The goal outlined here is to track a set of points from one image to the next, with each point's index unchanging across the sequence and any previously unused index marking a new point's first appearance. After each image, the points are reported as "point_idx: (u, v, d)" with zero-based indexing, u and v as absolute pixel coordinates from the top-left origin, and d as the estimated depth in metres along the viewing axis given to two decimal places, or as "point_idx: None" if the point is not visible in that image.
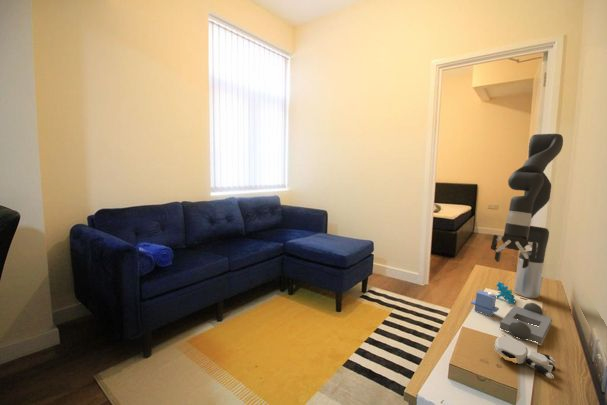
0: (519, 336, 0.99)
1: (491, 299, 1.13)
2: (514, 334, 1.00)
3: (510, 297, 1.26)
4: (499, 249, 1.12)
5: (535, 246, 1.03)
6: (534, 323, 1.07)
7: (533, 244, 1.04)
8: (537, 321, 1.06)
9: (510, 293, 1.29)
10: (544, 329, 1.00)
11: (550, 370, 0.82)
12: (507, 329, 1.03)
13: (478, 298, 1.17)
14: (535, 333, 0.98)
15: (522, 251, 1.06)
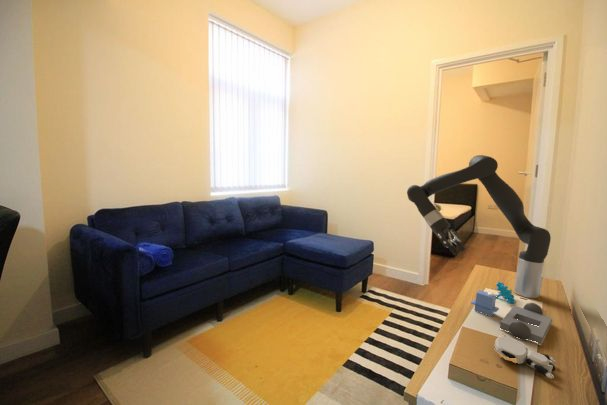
0: (519, 336, 0.99)
1: (491, 299, 1.13)
2: (514, 334, 1.00)
3: (510, 297, 1.26)
4: None
5: (438, 238, 1.23)
6: (534, 323, 1.07)
7: None
8: (537, 321, 1.06)
9: (510, 293, 1.29)
10: (544, 329, 1.00)
11: (550, 370, 0.82)
12: (507, 329, 1.03)
13: (478, 298, 1.17)
14: (535, 333, 0.98)
15: None
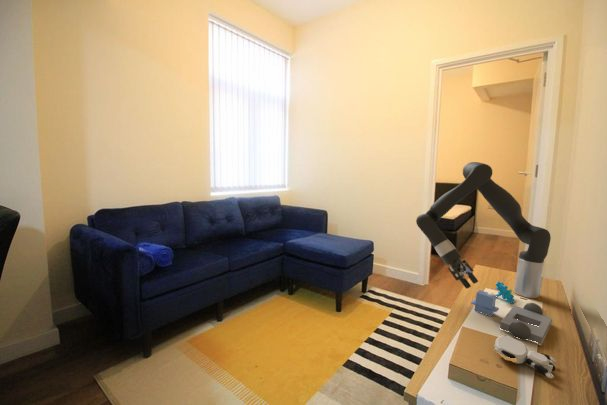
0: (519, 336, 0.99)
1: (491, 299, 1.13)
2: (514, 334, 1.00)
3: (509, 297, 1.27)
4: None
5: (450, 270, 1.20)
6: (534, 323, 1.07)
7: None
8: (537, 321, 1.06)
9: (509, 293, 1.29)
10: (544, 329, 1.00)
11: (550, 370, 0.82)
12: (507, 329, 1.03)
13: (478, 298, 1.17)
14: (535, 333, 0.98)
15: None
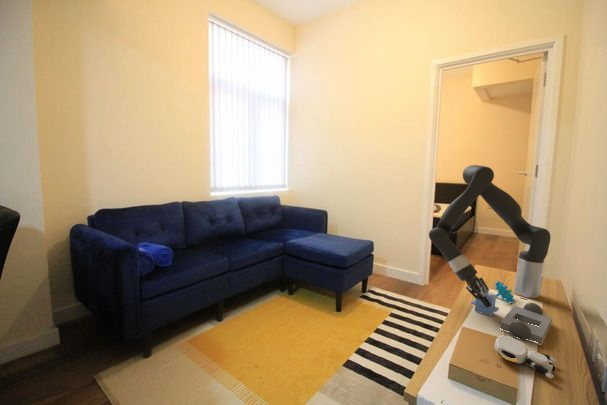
0: (519, 336, 0.99)
1: (491, 299, 1.13)
2: (514, 334, 1.00)
3: (508, 296, 1.27)
4: None
5: (468, 290, 1.15)
6: (534, 323, 1.07)
7: None
8: (537, 321, 1.06)
9: (509, 293, 1.29)
10: (544, 329, 1.00)
11: (550, 370, 0.82)
12: (507, 329, 1.03)
13: None
14: (535, 333, 0.98)
15: None
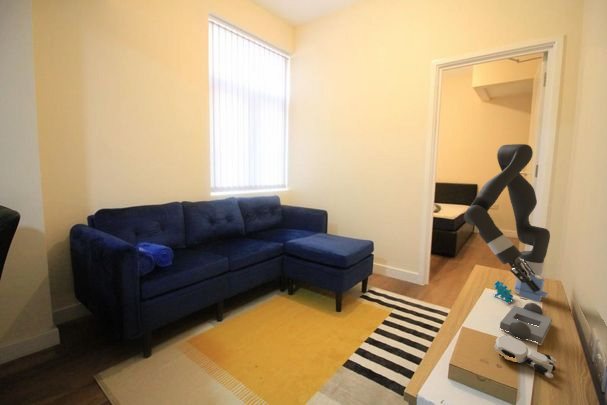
0: (519, 336, 0.99)
1: (540, 283, 1.01)
2: (514, 334, 1.00)
3: (508, 296, 1.27)
4: None
5: (513, 273, 1.04)
6: (534, 323, 1.07)
7: None
8: (537, 321, 1.06)
9: (508, 292, 1.29)
10: (544, 329, 1.00)
11: (550, 370, 0.82)
12: (507, 329, 1.03)
13: None
14: (535, 333, 0.98)
15: None
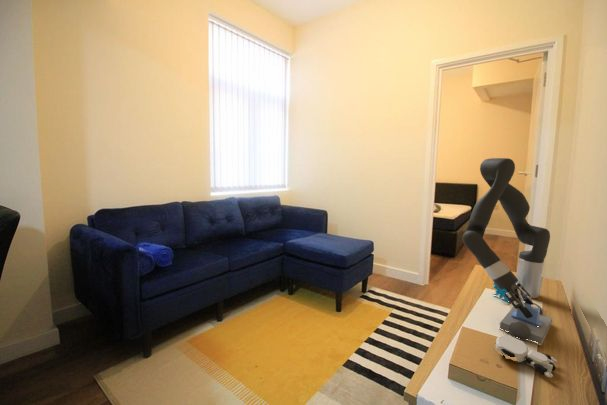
0: (519, 336, 0.99)
1: (535, 312, 1.03)
2: (514, 334, 1.00)
3: None
4: None
5: (507, 297, 1.05)
6: None
7: None
8: None
9: None
10: (544, 329, 1.00)
11: (550, 370, 0.82)
12: (507, 329, 1.03)
13: (519, 310, 1.06)
14: (535, 333, 0.98)
15: None
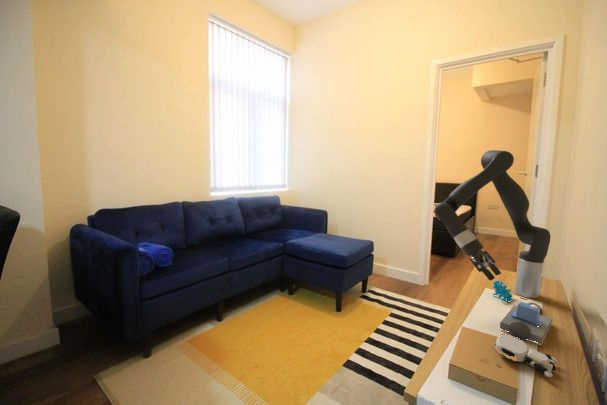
0: (519, 336, 0.99)
1: (535, 312, 1.03)
2: (514, 334, 1.00)
3: (506, 296, 1.28)
4: None
5: (472, 261, 1.13)
6: None
7: None
8: None
9: (508, 292, 1.29)
10: (544, 329, 1.00)
11: (550, 369, 0.82)
12: (507, 329, 1.03)
13: (519, 310, 1.06)
14: (535, 333, 0.98)
15: None
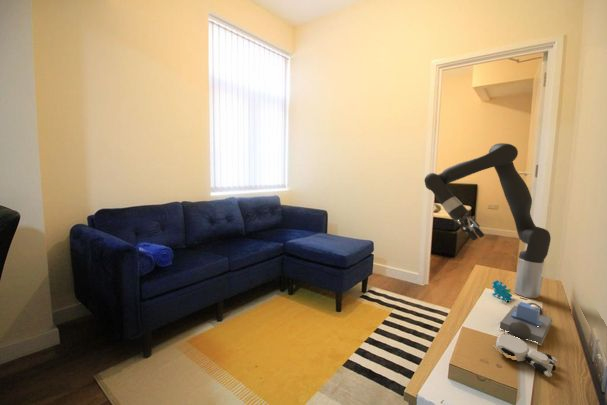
0: (519, 336, 0.99)
1: (535, 312, 1.03)
2: (514, 334, 1.00)
3: (505, 295, 1.28)
4: None
5: (457, 224, 1.25)
6: None
7: None
8: None
9: (507, 292, 1.30)
10: (544, 329, 1.00)
11: (550, 369, 0.82)
12: (507, 329, 1.03)
13: (519, 310, 1.06)
14: (535, 333, 0.98)
15: None
